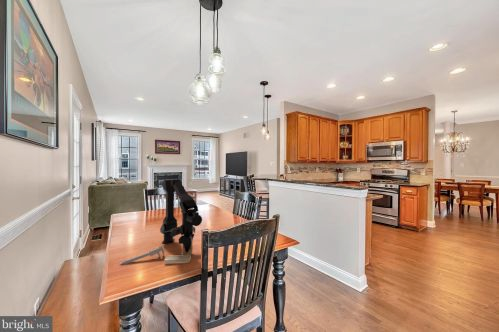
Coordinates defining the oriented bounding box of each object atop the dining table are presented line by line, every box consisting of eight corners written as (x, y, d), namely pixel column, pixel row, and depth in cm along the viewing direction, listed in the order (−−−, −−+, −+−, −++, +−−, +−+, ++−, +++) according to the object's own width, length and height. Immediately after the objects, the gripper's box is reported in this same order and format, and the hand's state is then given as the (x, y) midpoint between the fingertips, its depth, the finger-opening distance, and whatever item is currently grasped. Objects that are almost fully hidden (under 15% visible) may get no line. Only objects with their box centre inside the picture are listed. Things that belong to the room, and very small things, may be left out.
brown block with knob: (184, 251, 115) (184, 240, 115) (192, 250, 116) (192, 239, 116) (182, 254, 111) (182, 243, 110) (191, 254, 111) (191, 242, 111)
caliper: (163, 255, 112) (163, 244, 112) (164, 256, 112) (164, 245, 111) (119, 264, 102) (119, 252, 102) (119, 265, 101) (119, 253, 101)
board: (166, 259, 107) (166, 255, 107) (190, 258, 109) (190, 254, 109) (164, 264, 103) (164, 259, 103) (189, 262, 105) (189, 258, 105)
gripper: (175, 217, 121) (175, 244, 121) (168, 227, 102) (167, 259, 103) (195, 217, 123) (195, 243, 123) (191, 226, 104) (191, 257, 104)
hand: (187, 250), depth 113 cm, fingers closed on brown block with knob, 4 cm apart
